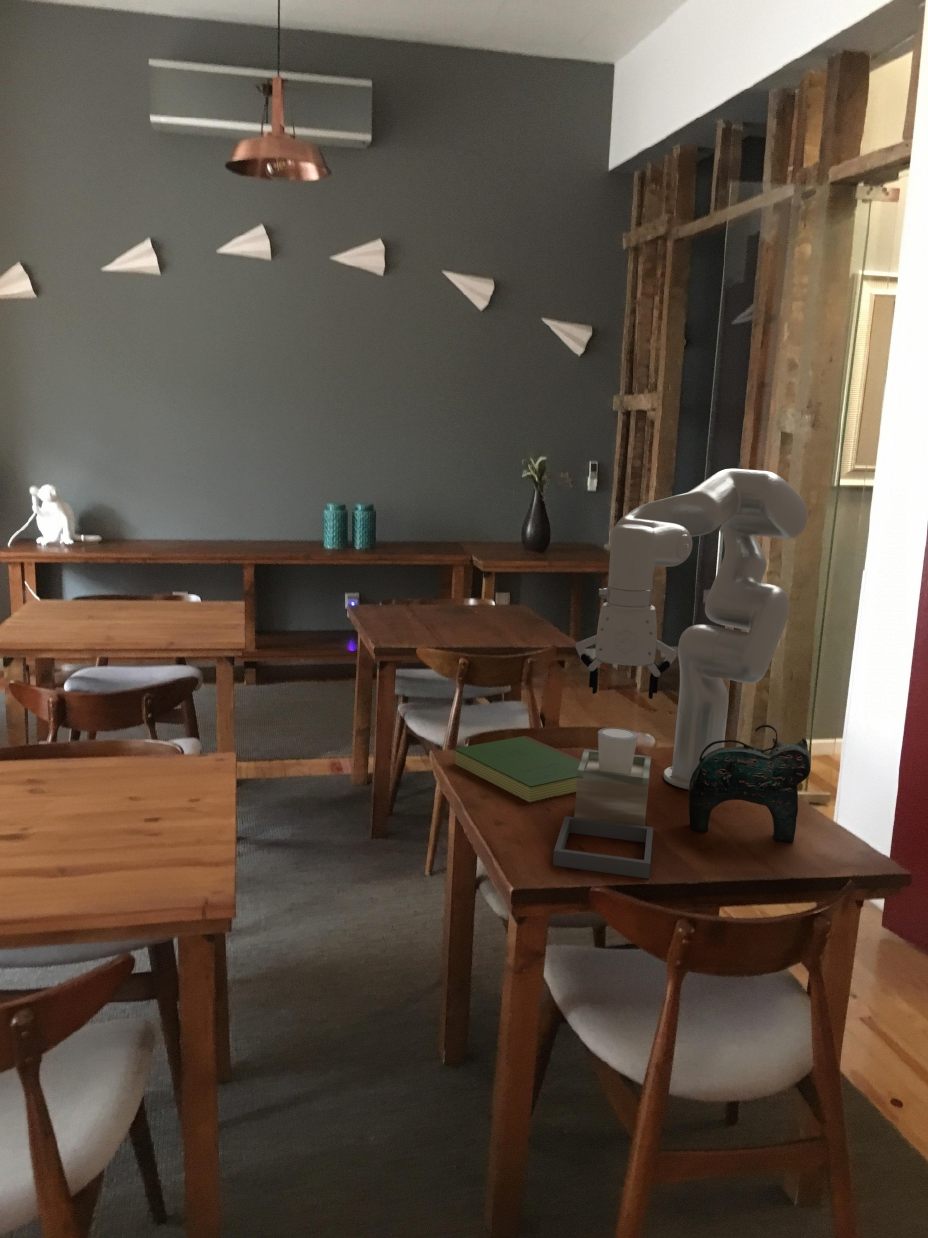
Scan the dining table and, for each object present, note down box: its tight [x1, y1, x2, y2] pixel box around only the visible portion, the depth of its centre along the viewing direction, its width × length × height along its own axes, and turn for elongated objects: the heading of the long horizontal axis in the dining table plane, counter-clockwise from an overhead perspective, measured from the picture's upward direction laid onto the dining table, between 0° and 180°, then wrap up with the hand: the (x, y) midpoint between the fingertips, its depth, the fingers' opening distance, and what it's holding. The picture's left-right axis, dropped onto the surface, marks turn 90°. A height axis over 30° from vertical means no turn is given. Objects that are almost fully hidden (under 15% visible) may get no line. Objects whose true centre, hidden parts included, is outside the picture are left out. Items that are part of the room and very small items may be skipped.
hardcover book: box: [453, 735, 582, 803], centre depth 201 cm, size 25×19×4 cm
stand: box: [573, 748, 652, 826], centre depth 180 cm, size 12×12×10 cm
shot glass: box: [597, 727, 638, 774], centre depth 178 cm, size 7×7×7 cm
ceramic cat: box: [688, 724, 812, 843], centre depth 175 cm, size 20×6×20 cm, turn 78°
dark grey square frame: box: [552, 815, 654, 880], centre depth 166 cm, size 15×15×2 cm
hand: (622, 694), depth 177 cm, fingers open, 9 cm apart
